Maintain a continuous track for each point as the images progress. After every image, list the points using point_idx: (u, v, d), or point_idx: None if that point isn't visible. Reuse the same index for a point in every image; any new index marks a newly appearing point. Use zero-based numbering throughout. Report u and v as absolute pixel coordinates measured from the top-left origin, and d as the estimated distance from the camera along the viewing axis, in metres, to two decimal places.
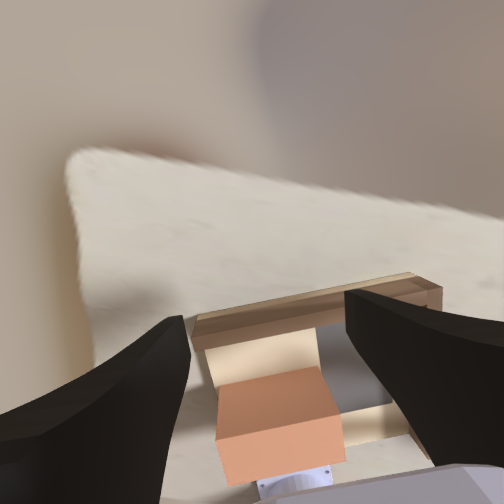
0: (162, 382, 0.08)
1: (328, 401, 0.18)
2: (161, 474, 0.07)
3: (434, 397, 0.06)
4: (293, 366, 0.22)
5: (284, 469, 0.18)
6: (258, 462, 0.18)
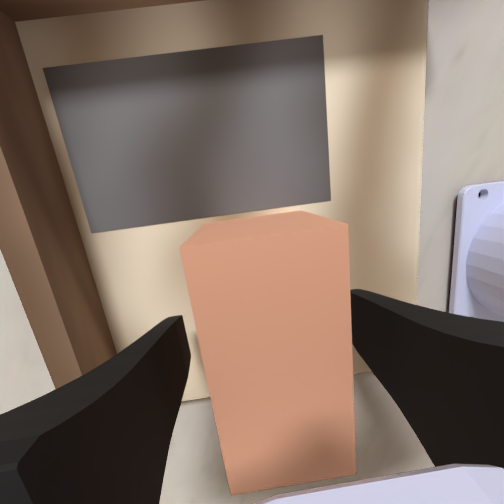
0: (162, 382, 0.08)
1: None
2: (161, 474, 0.07)
3: (434, 397, 0.06)
4: None
5: (337, 374, 0.08)
6: (303, 424, 0.08)
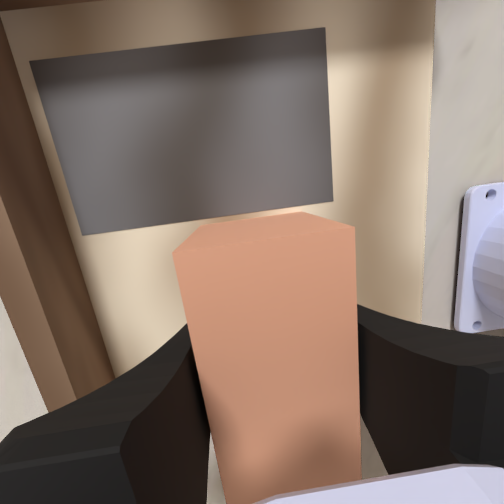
0: None
1: None
2: (206, 466, 0.07)
3: (385, 405, 0.06)
4: None
5: (342, 386, 0.07)
6: (305, 439, 0.08)
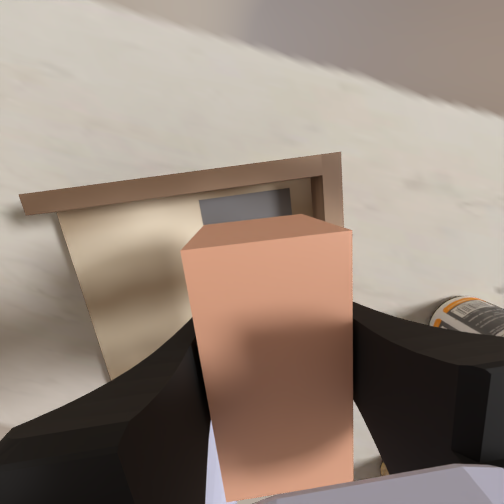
0: (201, 376, 0.08)
1: None
2: (205, 467, 0.07)
3: (386, 405, 0.06)
4: (177, 266, 0.18)
5: (337, 381, 0.08)
6: (301, 431, 0.08)
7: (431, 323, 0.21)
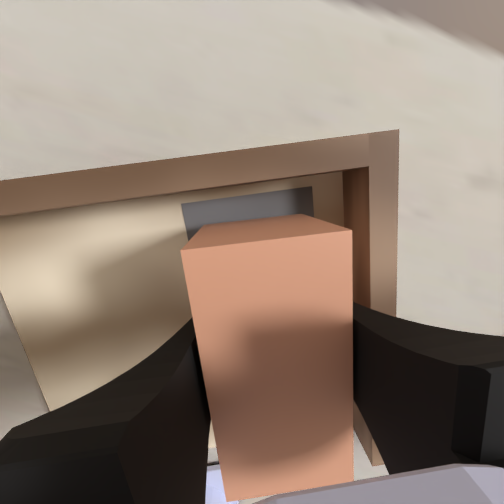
0: (201, 376, 0.08)
1: None
2: (205, 466, 0.07)
3: (386, 405, 0.06)
4: (152, 297, 0.13)
5: (337, 380, 0.08)
6: (301, 430, 0.08)
7: None
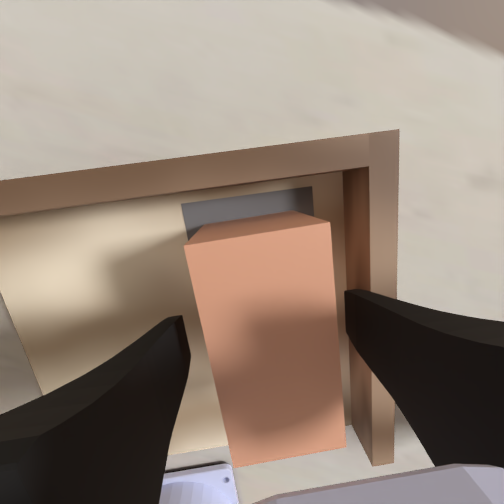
0: (162, 382, 0.08)
1: None
2: (161, 474, 0.07)
3: (434, 397, 0.06)
4: (152, 297, 0.13)
5: (325, 355, 0.09)
6: (296, 401, 0.09)
7: None
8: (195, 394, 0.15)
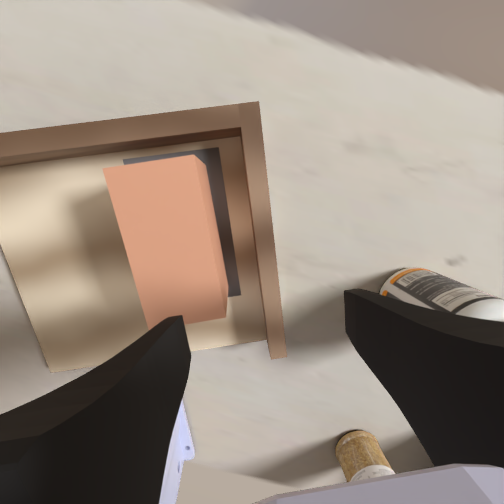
0: (162, 382, 0.08)
1: None
2: (161, 474, 0.07)
3: (434, 397, 0.06)
4: (105, 231, 0.18)
5: (202, 247, 0.13)
6: (186, 280, 0.14)
7: None
8: (142, 310, 0.19)
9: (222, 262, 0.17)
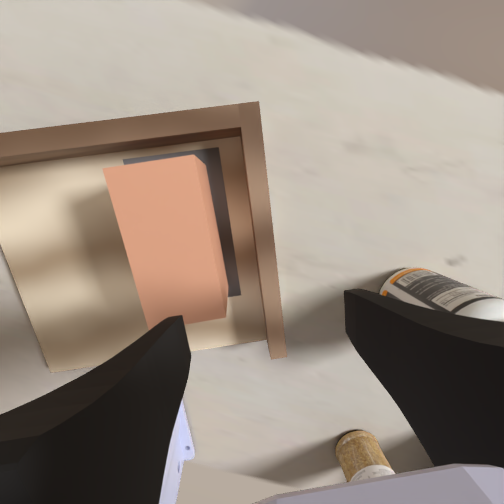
0: (162, 382, 0.08)
1: None
2: (161, 474, 0.07)
3: (434, 397, 0.06)
4: (105, 231, 0.18)
5: (202, 247, 0.13)
6: (186, 280, 0.14)
7: None
8: (142, 310, 0.19)
9: (222, 262, 0.17)
